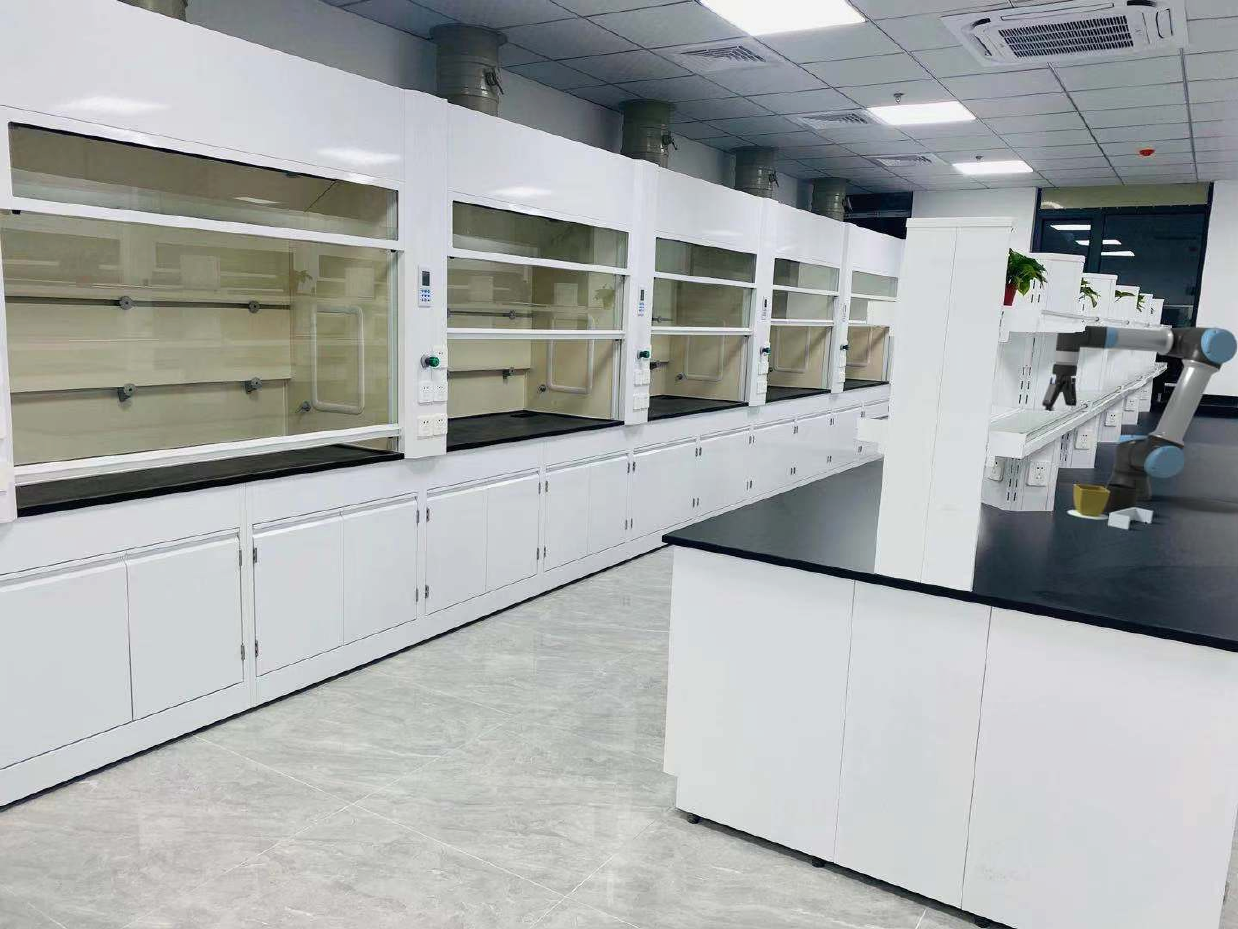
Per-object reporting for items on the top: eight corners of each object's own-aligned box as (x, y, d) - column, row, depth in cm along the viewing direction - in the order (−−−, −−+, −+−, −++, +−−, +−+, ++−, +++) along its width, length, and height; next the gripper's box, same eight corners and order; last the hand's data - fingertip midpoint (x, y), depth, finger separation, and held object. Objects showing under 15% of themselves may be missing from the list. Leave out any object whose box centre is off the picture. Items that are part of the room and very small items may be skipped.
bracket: (1132, 519, 291) (1133, 507, 290) (1151, 523, 286) (1153, 511, 286) (1107, 525, 280) (1109, 512, 279) (1127, 529, 275) (1129, 516, 274)
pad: (1077, 509, 301) (1077, 508, 301) (1114, 517, 292) (1115, 516, 292) (1061, 513, 294) (1061, 512, 294) (1098, 521, 285) (1098, 520, 285)
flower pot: (1106, 518, 288) (1110, 491, 286) (1077, 516, 289) (1081, 488, 288) (1097, 512, 296) (1101, 486, 295) (1069, 510, 298) (1073, 483, 296)
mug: (1141, 513, 302) (1145, 487, 300) (1128, 517, 294) (1132, 490, 292) (1111, 507, 309) (1115, 481, 307) (1098, 511, 301) (1102, 485, 299)
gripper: (1071, 362, 318) (1062, 421, 321) (1037, 362, 302) (1028, 424, 306) (1092, 364, 312) (1083, 424, 316) (1059, 364, 296) (1050, 427, 300)
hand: (1056, 424), depth 311 cm, fingers open, 13 cm apart
